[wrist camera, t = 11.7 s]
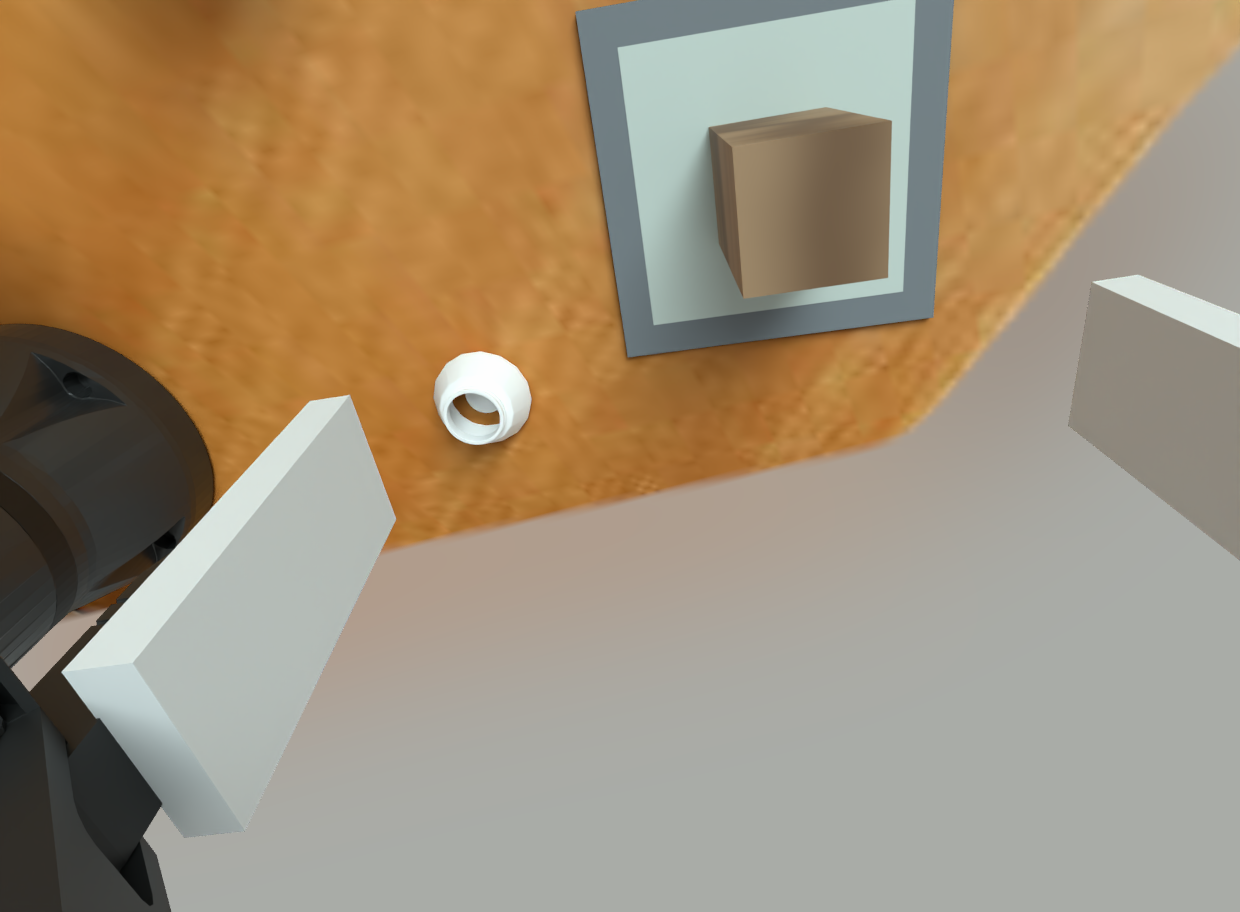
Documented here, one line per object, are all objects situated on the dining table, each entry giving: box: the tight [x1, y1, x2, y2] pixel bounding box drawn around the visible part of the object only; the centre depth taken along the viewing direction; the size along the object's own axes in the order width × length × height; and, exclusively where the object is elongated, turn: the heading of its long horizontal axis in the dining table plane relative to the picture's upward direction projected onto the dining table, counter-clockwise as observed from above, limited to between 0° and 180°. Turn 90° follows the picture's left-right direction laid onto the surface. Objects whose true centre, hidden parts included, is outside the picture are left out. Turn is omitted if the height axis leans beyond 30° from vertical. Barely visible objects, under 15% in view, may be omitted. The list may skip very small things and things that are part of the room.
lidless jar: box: [433, 351, 532, 445], centre depth 36 cm, size 5×3×5 cm
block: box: [709, 107, 892, 299], centre depth 27 cm, size 5×5×9 cm
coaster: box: [576, 0, 954, 357], centre depth 32 cm, size 15×15×1 cm
